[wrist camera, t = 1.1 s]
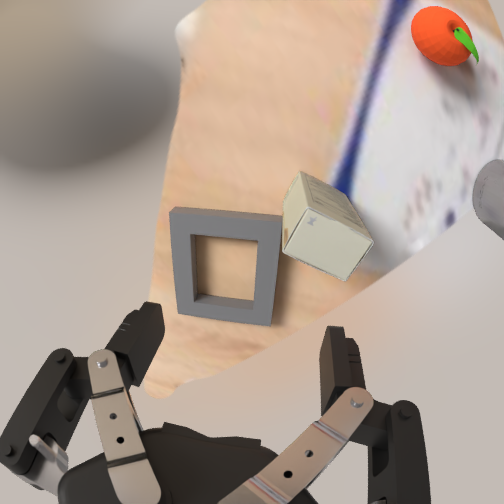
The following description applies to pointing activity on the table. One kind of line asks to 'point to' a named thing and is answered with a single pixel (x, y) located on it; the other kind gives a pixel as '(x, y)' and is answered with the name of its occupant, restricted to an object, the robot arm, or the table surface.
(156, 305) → the robot arm
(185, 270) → the holder
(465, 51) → the clementine
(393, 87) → the table surface
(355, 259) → the skincare box
